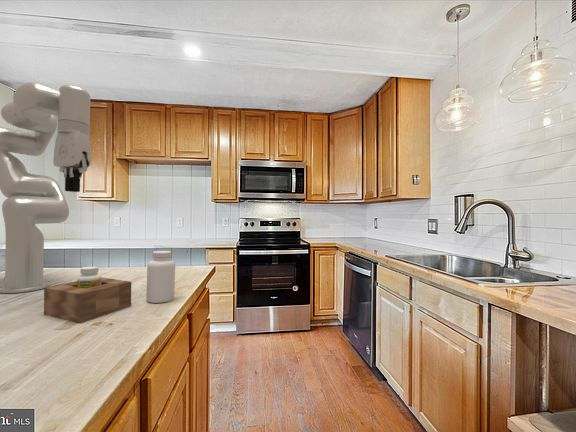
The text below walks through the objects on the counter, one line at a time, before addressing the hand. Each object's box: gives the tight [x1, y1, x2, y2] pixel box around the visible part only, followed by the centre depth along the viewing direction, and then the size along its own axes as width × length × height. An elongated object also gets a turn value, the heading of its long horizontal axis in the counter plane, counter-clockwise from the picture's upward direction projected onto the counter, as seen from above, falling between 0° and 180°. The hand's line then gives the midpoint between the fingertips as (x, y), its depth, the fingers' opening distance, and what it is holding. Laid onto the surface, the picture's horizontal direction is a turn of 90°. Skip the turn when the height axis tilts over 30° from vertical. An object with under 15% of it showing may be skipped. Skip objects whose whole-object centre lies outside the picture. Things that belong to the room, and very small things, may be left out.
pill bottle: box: [145, 250, 176, 304], centre depth 87 cm, size 8×8×15 cm
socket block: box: [43, 276, 132, 324], centre depth 76 cm, size 14×14×7 cm
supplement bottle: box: [76, 265, 102, 289], centre depth 76 cm, size 5×5×10 cm
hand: (72, 191), depth 83 cm, fingers closed
